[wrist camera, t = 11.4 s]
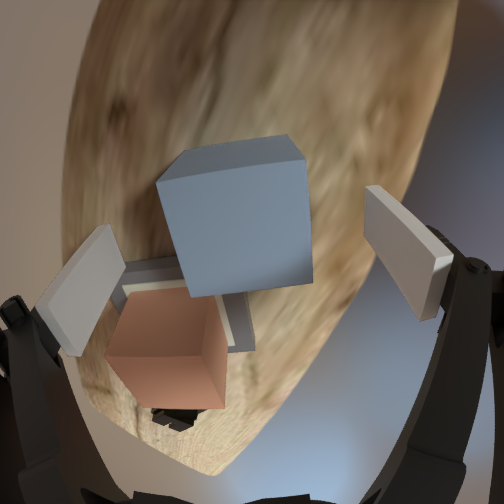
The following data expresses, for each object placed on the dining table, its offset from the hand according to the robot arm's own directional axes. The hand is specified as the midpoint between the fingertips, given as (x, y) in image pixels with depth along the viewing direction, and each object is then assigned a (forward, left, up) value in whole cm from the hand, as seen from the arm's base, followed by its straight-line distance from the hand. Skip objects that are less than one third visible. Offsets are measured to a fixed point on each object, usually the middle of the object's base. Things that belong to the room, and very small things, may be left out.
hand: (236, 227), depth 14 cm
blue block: (0, 0, -4) cm, 4 cm away
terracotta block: (+6, +8, -3) cm, 10 cm away
